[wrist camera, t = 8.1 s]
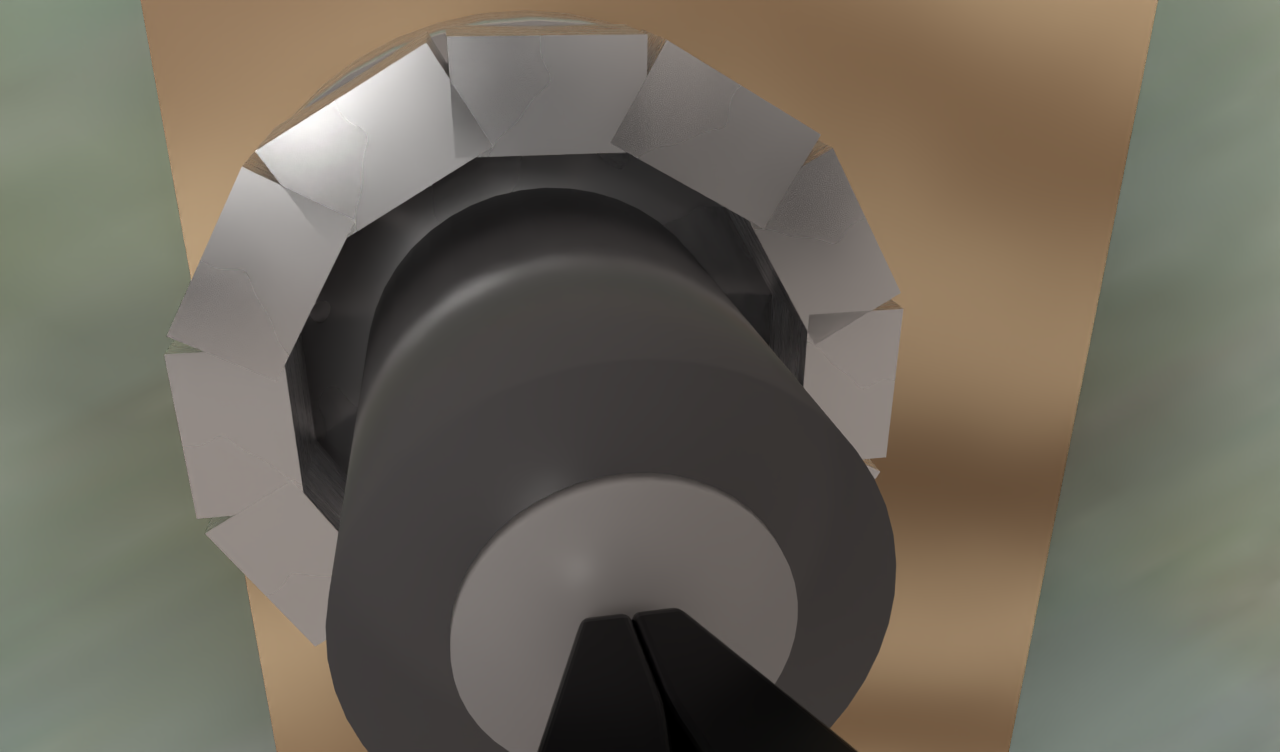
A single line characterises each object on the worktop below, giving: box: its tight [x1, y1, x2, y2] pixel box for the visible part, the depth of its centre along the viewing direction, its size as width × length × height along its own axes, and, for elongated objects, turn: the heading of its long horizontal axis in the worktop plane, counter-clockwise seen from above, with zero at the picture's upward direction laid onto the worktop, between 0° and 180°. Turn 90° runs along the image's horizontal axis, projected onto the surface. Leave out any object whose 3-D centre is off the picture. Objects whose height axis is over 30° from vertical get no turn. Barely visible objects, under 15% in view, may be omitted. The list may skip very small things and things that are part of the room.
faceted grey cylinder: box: [164, 10, 903, 647], centre depth 14 cm, size 9×9×4 cm
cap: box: [325, 188, 896, 752], centre depth 11 cm, size 5×5×6 cm
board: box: [141, 0, 1158, 752], centre depth 18 cm, size 18×15×1 cm
